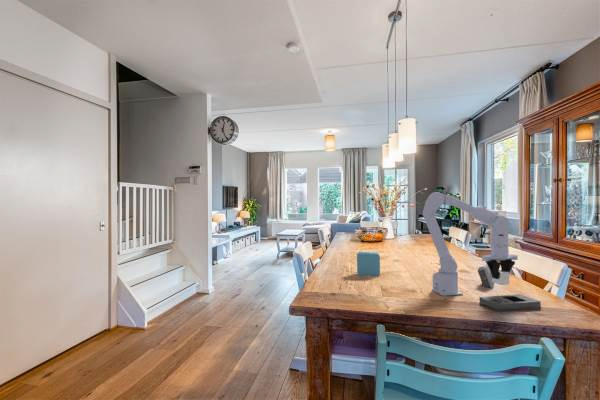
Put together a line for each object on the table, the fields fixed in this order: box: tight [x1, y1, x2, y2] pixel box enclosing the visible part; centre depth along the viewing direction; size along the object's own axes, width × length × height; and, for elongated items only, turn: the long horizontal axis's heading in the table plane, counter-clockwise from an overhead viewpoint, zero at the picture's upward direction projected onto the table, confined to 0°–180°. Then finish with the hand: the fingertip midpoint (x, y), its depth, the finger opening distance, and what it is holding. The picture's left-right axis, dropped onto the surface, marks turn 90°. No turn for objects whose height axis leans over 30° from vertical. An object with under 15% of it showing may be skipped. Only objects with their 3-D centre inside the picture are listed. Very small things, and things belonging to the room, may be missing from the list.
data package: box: [356, 251, 381, 277], centre depth 152 cm, size 12×4×12 cm, turn 77°
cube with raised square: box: [492, 269, 510, 286], centre depth 113 cm, size 4×4×5 cm
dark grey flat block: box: [479, 294, 542, 312], centre depth 105 cm, size 18×8×3 cm, turn 98°
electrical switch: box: [477, 263, 495, 289], centre depth 131 cm, size 9×5×9 cm, turn 141°
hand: (500, 278), depth 113 cm, fingers closed on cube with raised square, 4 cm apart
